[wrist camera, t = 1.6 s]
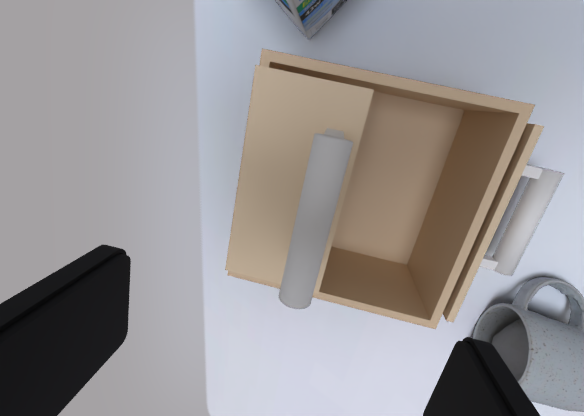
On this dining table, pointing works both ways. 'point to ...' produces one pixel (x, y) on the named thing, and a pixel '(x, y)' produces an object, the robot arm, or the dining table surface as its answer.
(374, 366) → the dining table surface
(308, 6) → the light bulb box
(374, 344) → the dining table surface
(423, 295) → the carton
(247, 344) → the dining table surface
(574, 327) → the ceramic mug
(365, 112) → the flap
